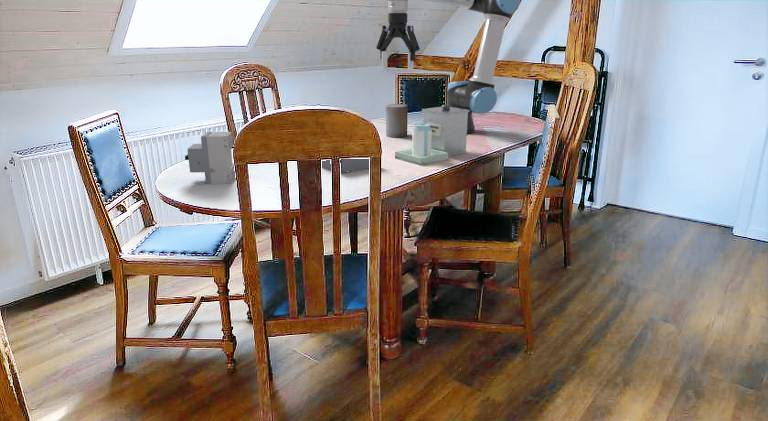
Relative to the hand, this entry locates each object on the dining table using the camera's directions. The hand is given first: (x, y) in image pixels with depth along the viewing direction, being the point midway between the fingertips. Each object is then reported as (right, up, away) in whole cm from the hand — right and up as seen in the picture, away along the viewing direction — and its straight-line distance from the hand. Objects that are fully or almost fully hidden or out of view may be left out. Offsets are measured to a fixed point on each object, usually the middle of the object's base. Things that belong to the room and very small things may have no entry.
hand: (397, 68), depth 218 cm
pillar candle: (0, -23, +27) cm, 36 cm away
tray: (+9, -38, -15) cm, 41 cm away
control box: (+18, -34, -5) cm, 39 cm away
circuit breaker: (-60, -48, -44) cm, 89 cm away
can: (+9, -37, -15) cm, 41 cm away
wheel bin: (-18, -41, -26) cm, 52 cm away
